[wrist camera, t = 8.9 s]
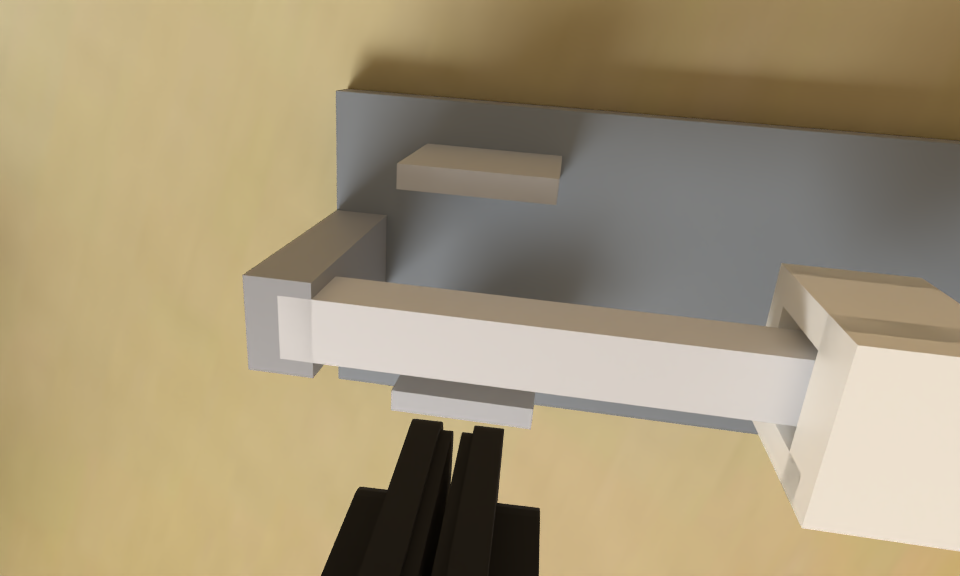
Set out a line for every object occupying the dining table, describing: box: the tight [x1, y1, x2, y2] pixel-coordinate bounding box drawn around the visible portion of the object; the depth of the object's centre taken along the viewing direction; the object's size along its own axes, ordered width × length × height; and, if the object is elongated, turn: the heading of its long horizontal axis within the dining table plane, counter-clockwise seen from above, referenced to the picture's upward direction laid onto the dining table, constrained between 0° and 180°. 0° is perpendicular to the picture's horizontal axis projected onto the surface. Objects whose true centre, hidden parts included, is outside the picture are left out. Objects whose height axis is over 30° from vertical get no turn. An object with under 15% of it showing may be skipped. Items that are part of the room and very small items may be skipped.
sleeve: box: [752, 263, 960, 551], centre depth 18 cm, size 5×4×6 cm
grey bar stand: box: [243, 89, 960, 434], centre depth 21 cm, size 12×28×10 cm, turn 87°
